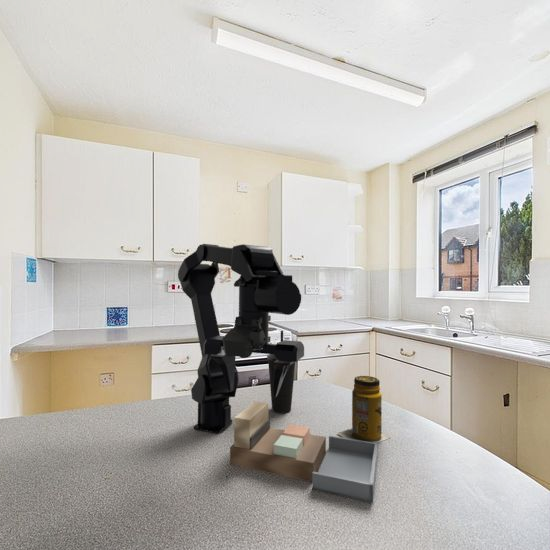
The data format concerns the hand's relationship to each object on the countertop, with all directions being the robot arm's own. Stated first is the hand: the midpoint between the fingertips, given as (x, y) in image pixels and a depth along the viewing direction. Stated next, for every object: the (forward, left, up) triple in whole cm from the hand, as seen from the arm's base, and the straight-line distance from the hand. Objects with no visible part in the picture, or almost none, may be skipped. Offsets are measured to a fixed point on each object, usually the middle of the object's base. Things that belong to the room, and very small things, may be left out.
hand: (252, 393), depth 63 cm
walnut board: (+6, 0, -11) cm, 12 cm away
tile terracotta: (+8, +2, -8) cm, 12 cm away
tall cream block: (0, 0, -8) cm, 8 cm away
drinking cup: (-2, +23, -11) cm, 26 cm away
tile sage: (+8, -3, -8) cm, 12 cm away
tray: (+18, 0, -11) cm, 21 cm away
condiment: (+19, +15, -11) cm, 27 cm away
